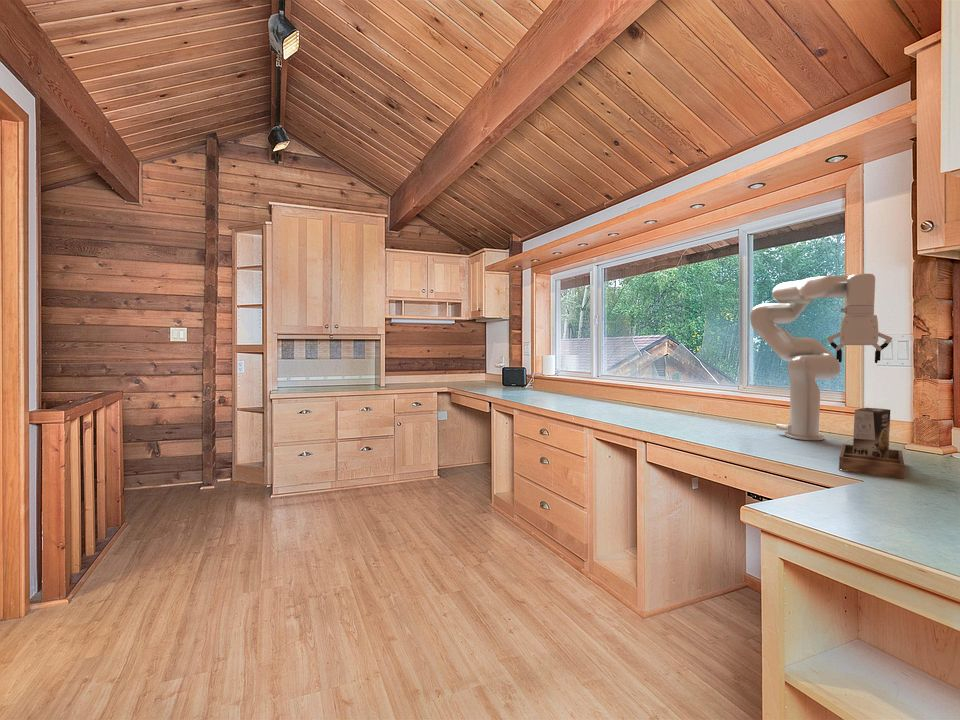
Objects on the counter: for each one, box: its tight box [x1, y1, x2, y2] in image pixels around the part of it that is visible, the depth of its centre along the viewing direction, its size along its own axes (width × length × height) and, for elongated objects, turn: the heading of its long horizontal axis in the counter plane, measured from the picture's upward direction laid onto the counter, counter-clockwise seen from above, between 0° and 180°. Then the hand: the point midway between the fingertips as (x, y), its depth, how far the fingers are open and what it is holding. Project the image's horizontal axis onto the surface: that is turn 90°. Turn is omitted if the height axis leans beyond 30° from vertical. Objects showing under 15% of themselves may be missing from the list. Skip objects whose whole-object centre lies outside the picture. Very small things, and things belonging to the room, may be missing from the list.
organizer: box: [838, 443, 905, 480], centre depth 149 cm, size 15×20×4 cm
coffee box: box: [852, 407, 892, 458], centre depth 151 cm, size 9×6×16 cm
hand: (857, 362), depth 166 cm, fingers open, 9 cm apart
